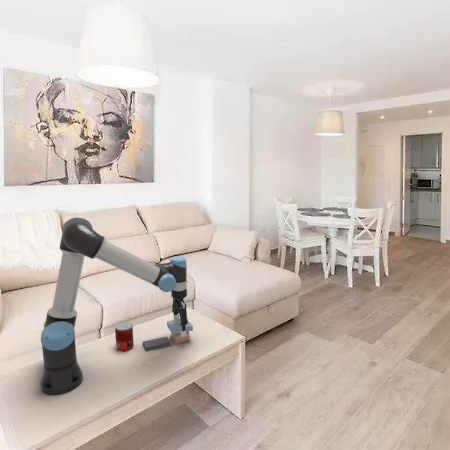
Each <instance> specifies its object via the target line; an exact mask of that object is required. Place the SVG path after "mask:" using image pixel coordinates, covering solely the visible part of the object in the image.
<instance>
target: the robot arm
mask: <svg viewBox="0 0 450 450" xmlns="http://www.w3.org/2000/svg"><path fill="white" fill-rule="evenodd" d="M59 250H60V251H61V253H62V254H61V260H60V265H59V270H58V276H57V280H56V287H55V291H54V297H53V300H52V301H53V302H52V307H50V308H49V309H47V313H46V318H45V321H44V323H43V329H42V331H41V333H40V334H41V335H40V343H41V347H42V349H41V350H42V359H43V360H42V361H43V368H44V369H43V372H42V376H41V379H40V390H41V391H42V393H44V394H46V395H51V396H54V395H55V396H56V395H61V394H66V393H68V392H71V391H72V390H74V389H76V388H78V387H79V386H80V384H82V382H83V380H84V375H83V371H82V368H81V366H80V364H79V362H78V360H77V349H76V348H77V346H76V331H75V329H76V328H75V327H76V321H77V317H78V312H77V310H76V309H75V307H76V302H77V298H78V297H77V296H78V292H79V287H80V280H81V277H82V271H83V266H84V261H85V257H88V258H90V259H91V260H94V259H97V260H100V261H101V262H104V263H107V264H108V265H111V266H113V267H115V268H116V269H118V270H121V271H123V272H125V273H127V274H129V275H132V276H134V277H136V278H138V279H140V280H142V281H144V282H146V283H149V284H151V285H153V286H155V287H156V288H158V289H159V290H160V291H162V292H164V293H169V292H170V294H171V295H170V296H171V298H172V306H171V307H172V308H171V311H172V314H173V320H176V319H180V321H181V324H179V325H180V337H185V336H186V325H187V324H188V321H189V320H188V321H187V319H188V314H187V313H188V312H187V303H185V298H186V297H187V296H188V289H187V288H188V287H187V286H188V285H187V283H189V282H188V280H187V279H188V278H187V274H188V273H187V272H188V271H187V268H188V266H187V259H186V258H185V256H180V255H179V256H178V255H177V256H172V257H171V258H170V260H169V262H164V263H155V264H154V263H151V262H148V261H147V260H144V259H143V258H141V257H140V256H136V255H135V254H133V253H132V252H129V251H127V250H125V249H123V248H120V247H119V246H117V245H115V244H113V243H111V242H109V241H107V240H106V237H105V236H103V235H101V234H99V233H98V232H97V231H95V230H94V228H93V225H92V224H91V222H90V221H89V220H87V219H86V218H84V217H79V216H77V217H72V218H70V219H68V220H66V221H65V222H64V223H63V225H62V228H61V238H60V242H59Z"/></svg>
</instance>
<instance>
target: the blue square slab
mask: <svg viewBox="0 0 450 450" xmlns="http://www.w3.org/2000/svg"><path fill="white" fill-rule="evenodd" d="M187 321H188V324H187V325H186V332H189V333H190V332H193V330H194V326H193V324H192V323H191V321H189V319H188V318H187ZM179 324H181V321H180V318H179V319H176V320H174V319H171V320H167V321H166V327H167V328H168V330H169V331H170V334H171V333H172V334H173V335H175V334H180V325H179Z"/></svg>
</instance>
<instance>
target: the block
mask: <svg viewBox="0 0 450 450" xmlns="http://www.w3.org/2000/svg"><path fill="white" fill-rule="evenodd" d="M171 345H172V344H171V340H170V339H169V337H168V336H162V337H158V338H154V339H149V340H144V341H142V346H143V349H144V351H145V352H150V351H154V350H158V349H164V348H168V347H171Z"/></svg>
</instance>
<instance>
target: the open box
mask: <svg viewBox="0 0 450 450" xmlns="http://www.w3.org/2000/svg"><path fill="white" fill-rule="evenodd" d="M170 334H171V337H170V338H171V340H172V341H173V343H174V344H175V345H178V344H182V343H186V342H190V331H189V332H186V336H185V337H180V334H175V335H173V334H172V333H171V332H170Z"/></svg>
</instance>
